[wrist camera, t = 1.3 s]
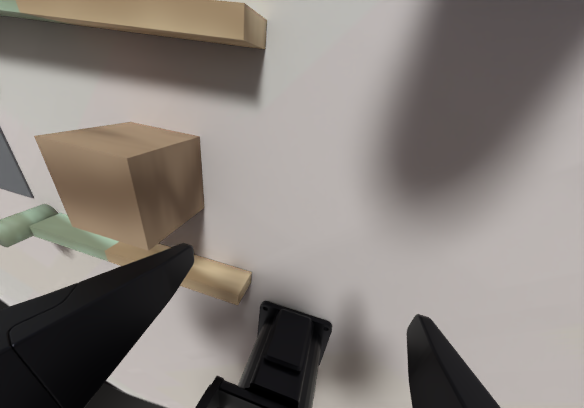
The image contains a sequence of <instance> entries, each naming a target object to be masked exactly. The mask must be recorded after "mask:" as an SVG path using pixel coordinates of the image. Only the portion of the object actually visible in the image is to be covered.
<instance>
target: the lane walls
mask: <svg viewBox="0 0 584 408" xmlns="http://www.w3.org/2000/svg"><path fill="white" fill-rule="evenodd" d="M0 15H2V16H10V17H18V18H25V19H33V20H41V21H49V22H56V23H64V24H72V25H80V26H88V27H95V28H103V29H111V30H119V31H126V32H134V33H142V34H150V35H158V36H165V37H173V38H181V39H189V40H196V41H204V42H212V43H220V44H228V45H235V46H243V47H251V48H259V49H265V43H266V26H267V20H266V19H265V18H263V17H262V16H261V15H259V14H258V13H257V12H256V11H254V10H253V9H252V8H250V7H249V6H248V5H246V4H245V3H238V2H227V1H216V0H0ZM32 236H35V237H38V238H41V239H44V240H47V241H50V242H53V243H56V244H59V245H61V246H64V247H67V248H70V249H73V250H76V251H79V252H82V253H85V254H88V255H91V256H94V257H97V258H100V259H103V260H106V261H109V262H112V263H114V264H117V265H120V266H124V265H126V264H129V263H132V262H134V261H137V260H140V259H142V258H145V257H148V256H150V255H153V254H156V253H158V252H161V251H164V250H166V249H169V248H171V247H168V246H165V245H162V244H159V243H158V244H157V245H155V246H154V247H153V248H151V249H150V250H149V251H148V250H145V249H141V248H138V247H135V246H132V245H129V244H126V243H122V242H119V241H116V240H113V239H110V238H107V237H104V236H100V235H97V234H94V233H91V232H88V231H85V230H81V229H78V228H75V227H72V225H71V222H70V220H69V217H68V215H65V214H62V213H59V214H58V213H57V212H56V211H55V210H54V209H53V208H52V207H51V206H49V205H46V204H42V205H40V206H37V207H34V208H31V209H29V210H26V211H23V212H20V213H18V214H15V215H12V216H9V217H6V218H4V219H1V220H0V245H2V246H4V247H9V246H11V245H14V244H16V243H18V242H20V241H23V240H25V239H27V238H29V237H32ZM251 275H252V272H249V271H246V270H243V269H239V268H236V267H233V266H230V265H226V264H223V263H220V262H217V261H214V260H210V259H207V258H204V257H201V256H197V255H194V264H193V266H192V268H191V269H190V271H189V272H188V274H187V275H186V277H185V278H184V280H183V282H182V283H181V285H180V286H182V287H185V288H188V289H191V290H194V291H197V292H200V293H203V294H206V295H209V296H212V297H215V298H218V299H221V300H223V301H226V302H229V303H232V304H235V305H238V304H239V303H240V301H241V299H242V297H243V296H244V294H245V292H246V290H247V288H248V287H249V285H250V283H251Z"/></svg>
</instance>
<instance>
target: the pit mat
mask: <svg viewBox="0 0 584 408" xmlns="http://www.w3.org/2000/svg"><path fill="white" fill-rule="evenodd" d="M0 188H1V189H4V190H7V191H11V192H14V193H17V194H21V195H24V196H27V197H31V198H34V196H33V194H32V192H31V190H30V188H29V186H28V184H27V182H26V180H25V178H24V175H23V173H22V171H21V169H20V167H19V165H18V163H17V161H16V159H15V157H14V155H13V152H12V150H11V148H10V146H9V144H8V142H7V140H6V138H5V136H4V134H3V132H2V130H1V127H0Z"/></svg>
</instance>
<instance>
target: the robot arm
mask: <svg viewBox="0 0 584 408" xmlns="http://www.w3.org/2000/svg"><path fill="white" fill-rule="evenodd" d="M193 264H194V251H193V247H192V246H191V245H188V244H184V243H183V244H179V245H177V246H174V247H171V248H169V249H166V250H164V251H161V252H158V253H156V254H153V255H150V256H148V257H145V258H142V259H140V260H137V261H134V262H132V263H129V264H126V265H124V266H121V267H118V268H116V269H113V270H110V271H108V272H105V273H102V274H100V275H97V276H94V277H92V278H89V279H86V280H84V281H81V282H79V283H76V284H73V285H70V286H68V287H65V288H62V289H60V290H57V291H54V292H51V293H49V294H46V295H43V296H40V297H37V298H34V299H31V300H28V301H25V302H22V303H19V304H16V305H13V306H10V307H7V308H4V309H1V310H0V408H84V407H85V406H86V405H87V403H88V402H89V401H90V400H91V398H92V397H93V396H94V395H95V393H96V392H97V391H98V390H99V388H100V387H101V386H102V385H103V383H104V382H105V381H106V380H107V378H108V377H109V376H110V375H111V373H112V372H113V371H114V370H115V368H116V367H117V366H118V365H119V363H120V362H121V361H122V360H123V358H124V357H125V356H126V355H127V353H128V352H129V351H130V350H131V348H132V347H133V346H134V345H135V343H136V342H137V341H138V340H139V338H140V337H141V336H142V335H143V333H144V332H145V331H146V329H147V328H148V327H149V326H150V324H151V323H152V322H153V321H154V319H155V318H156V317H157V316H158V314H159V313H160V312H161V311H162V309H163V308H164V307H165V306H166V304H167V303H168V302H169V301H170V299H171V298H172V297H173V295H174V294H175V292H176V291H177V289H178V288H179V286H180V285H181V283H182V282H183V280H184V278H185V277H186V275H187V274H188V272H189V271H190V269H191V268H192V266H193ZM331 332H332V324H331V323H330V322H328V321H325V320H322V319H319V318H316V317H313V316H310V315H307V314H304V313H301V312H298V311H295V310H292V309H289V308H286V307H283V306H280V305H277V304H274V303H270V302H267V301H264V302H262V304H261V307H260V315H259V326H258V336H257V340H256V343H255V345H254V348H253V350H252V352H251V355H250V357H249V360H248V362H247V365H246V367H245V370H244V372H243V374H242V377H241V379H240V382H239V384H238V386H237V385H235V384H232V383H230V382H227V381H225V380H224V378H222V377H219V376H216V378H215V380H214V381H213V383H212V384H211V385H209V387H208V388H207V390H206V391H205V393H204V395H203V396H202V398H201V399H200V401H199V403H198V404H197V406H196V408H312V405H313V398H314V391H315V385H316V378H317V371H318V366H319V365H320V362H321V359H322V357H323V354H324V351H325V348H326V346H327V343H328V340H329V337H330V334H331ZM407 353H408V375H409V386H410V393H411V400H412V406H413V408H500V406H499V405H498V404H497V402H496V401H495V400H494V399H493V397H492V396H491V395H490V393H489V392H488V391H487V390H486V388H485V387H484V386H483V385H482V383H481V382H480V381H479V379H478V378H477V377H476V376H475V374H474V373H473V372H472V371H471V369H470V368H469V367H468V365H467V364H466V363H465V362H464V360H463V359H462V358H461V357H460V355H459V354H458V353H457V351H456V350H455V349H454V348H453V346H452V345H451V344H450V343H449V341H448V340H447V339H446V337H445V336H444V335H443V334H442V332H441V331H440V330H439V329H438V327H437V326H436V325H435V323H434V322H433V321H432V320H431V319H430V318H429V317H426V316H423V315H420V314H417V315H416V316H415V317H414V319H413V320H412V322H411V323H410V325H409V327H408V329H407Z"/></svg>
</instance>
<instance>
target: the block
mask: <svg viewBox="0 0 584 408" xmlns="http://www.w3.org/2000/svg"><path fill="white" fill-rule="evenodd" d="M34 137H35V139H36V142H37V144H38V146H39V149H40V151H41V153H42V156H43V158H44V160H45V163H46V165H47V168H48V170H49V172H50V175H51V177H52V179H53V182H54V184H55V187H56V189H57V191H58V194H59V196H60V198H61V201H62V203H63V206H64V208H65V210H66V213H67V215H68V217H69V220H70V222H71V225H72V227H75V228H78V229H81V230H85V231H88V232H91V233H94V234H97V235H100V236H104V237H107V238H110V239H113V240H116V241H119V242H122V243H126V244H129V245H132V246H135V247H138V248H141V249H145V250H148V251H149V250H150V249H151V248H153V247H154V246H155V245H157V244H158V243H159V242H161V241H162V240H163V239H164V238H166V237H167V236H168V235H170V234H171V233H172V232H174V231H175V230H176V229H178V228H179V227H180V226H181V225H183V224H184V223H185V222H187V221H188V220H189V219H191V218H192V217H193V216H194V215H196V214H197V213H198V212H200V211H201V210H202V209H204V194H203V179H202V164H201V150H200V137H199V136H194V135H190V134H185V133H180V132H175V131H171V130H166V129H161V128H156V127H151V126H147V125H142V124H137V123H132V122H127V123H121V124H114V125H107V126H100V127H93V128H86V129H79V130H72V131H65V132H59V133H52V134H45V135H38V136H34Z"/></svg>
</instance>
